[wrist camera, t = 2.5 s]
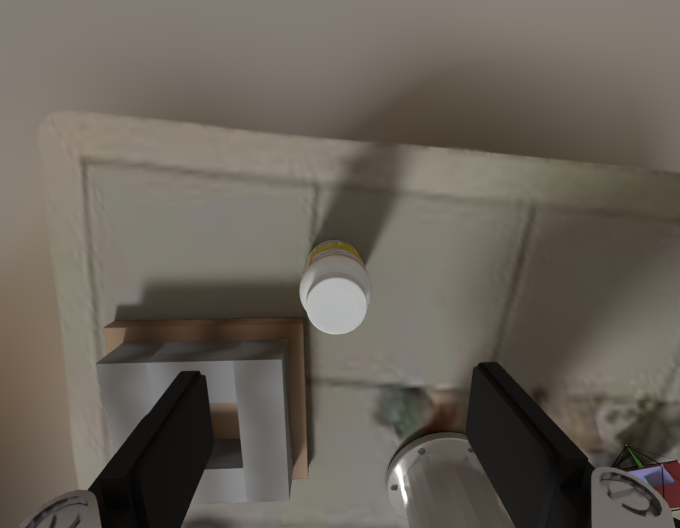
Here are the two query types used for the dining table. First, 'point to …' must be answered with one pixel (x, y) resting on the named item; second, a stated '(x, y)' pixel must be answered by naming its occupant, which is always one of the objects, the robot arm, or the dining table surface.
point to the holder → (219, 396)
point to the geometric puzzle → (659, 478)
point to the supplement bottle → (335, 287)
